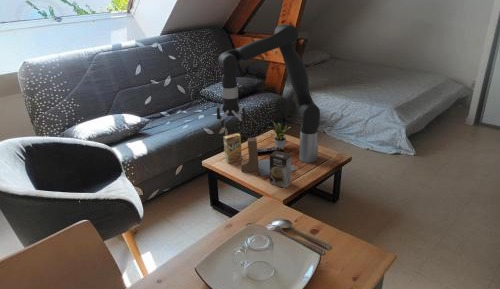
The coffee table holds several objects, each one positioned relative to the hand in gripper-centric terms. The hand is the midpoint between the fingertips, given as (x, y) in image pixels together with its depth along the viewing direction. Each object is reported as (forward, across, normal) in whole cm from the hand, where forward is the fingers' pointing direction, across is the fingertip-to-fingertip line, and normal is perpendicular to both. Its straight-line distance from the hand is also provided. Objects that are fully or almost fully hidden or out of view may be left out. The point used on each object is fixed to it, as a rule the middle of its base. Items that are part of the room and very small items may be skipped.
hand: (232, 126), depth 178 cm
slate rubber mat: (+27, -20, -10) cm, 35 cm away
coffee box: (+27, -24, +7) cm, 37 cm away
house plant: (+27, -20, -33) cm, 47 cm away
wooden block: (+27, -7, -4) cm, 28 cm away
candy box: (+27, +4, -15) cm, 31 cm away
